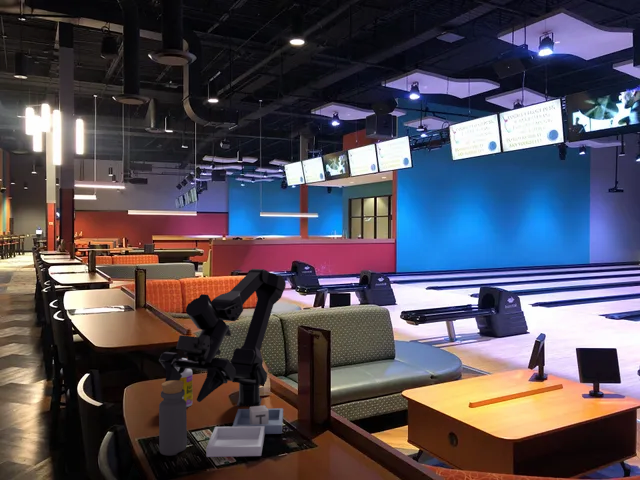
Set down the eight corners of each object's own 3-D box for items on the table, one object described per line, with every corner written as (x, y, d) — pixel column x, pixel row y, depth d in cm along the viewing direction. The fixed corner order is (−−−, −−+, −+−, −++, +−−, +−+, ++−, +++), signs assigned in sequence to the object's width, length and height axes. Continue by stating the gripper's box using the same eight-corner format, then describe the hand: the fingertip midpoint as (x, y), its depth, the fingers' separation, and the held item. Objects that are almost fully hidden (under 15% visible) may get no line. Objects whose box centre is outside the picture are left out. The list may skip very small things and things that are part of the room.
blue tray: (238, 418, 135) (238, 409, 135) (283, 417, 136) (283, 408, 136) (232, 436, 124) (232, 425, 124) (281, 435, 124) (281, 425, 124)
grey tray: (215, 437, 123) (215, 426, 123) (264, 436, 123) (264, 426, 123) (206, 459, 111) (206, 447, 111) (261, 458, 112) (260, 446, 112)
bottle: (179, 456, 112) (178, 387, 112) (154, 454, 114) (153, 386, 113) (191, 445, 118) (190, 380, 118) (167, 443, 119) (167, 378, 119)
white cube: (249, 422, 131) (249, 406, 131) (265, 421, 132) (265, 405, 132) (252, 428, 127) (252, 412, 127) (268, 426, 128) (268, 410, 128)
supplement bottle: (188, 410, 141) (188, 363, 141) (164, 410, 141) (164, 363, 141) (195, 402, 148) (195, 357, 148) (172, 402, 148) (171, 357, 148)
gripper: (163, 318, 127) (131, 375, 117) (229, 324, 120) (200, 385, 109) (184, 344, 134) (155, 400, 124) (247, 351, 127) (221, 410, 117)
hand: (181, 398), depth 118 cm, fingers open, 9 cm apart
